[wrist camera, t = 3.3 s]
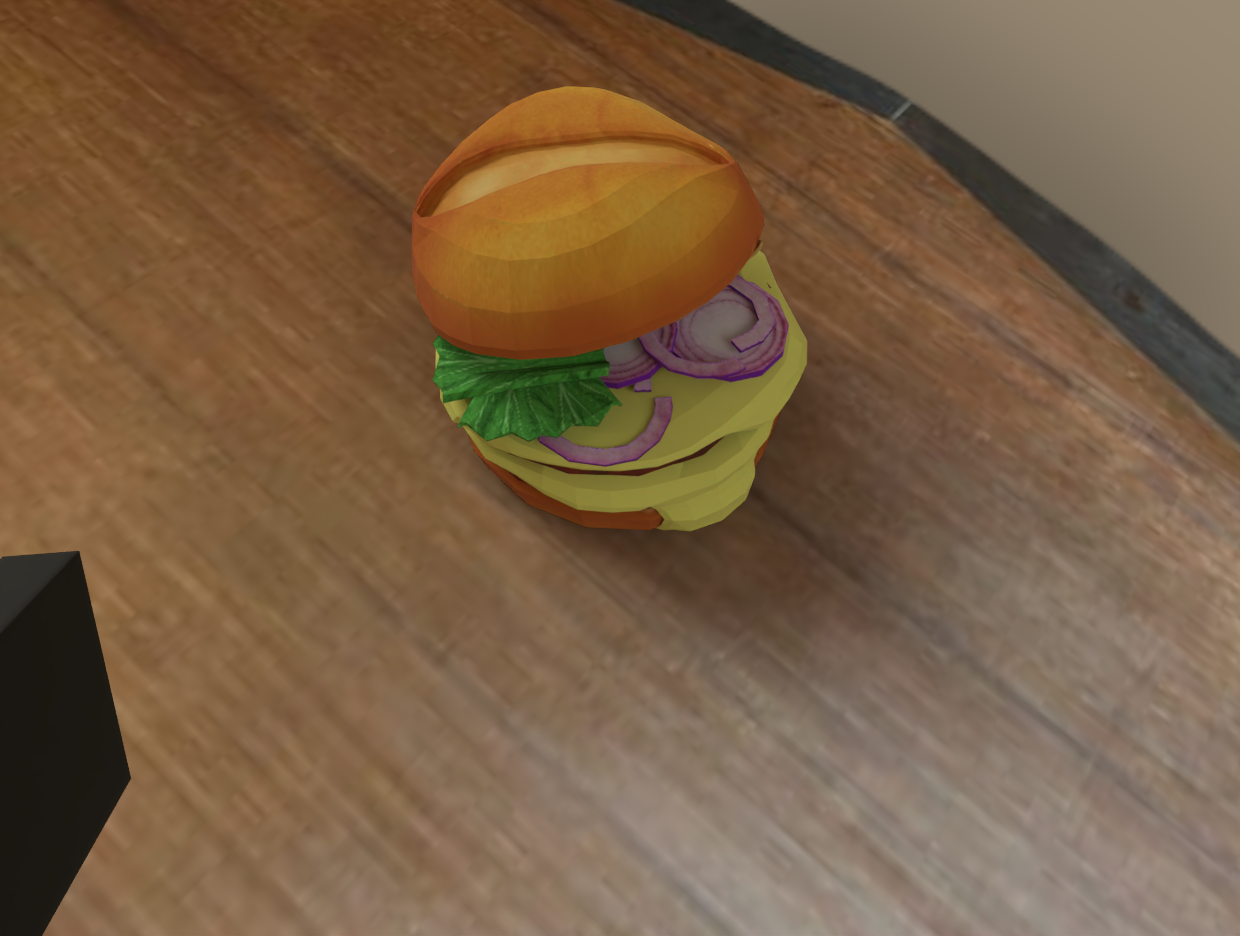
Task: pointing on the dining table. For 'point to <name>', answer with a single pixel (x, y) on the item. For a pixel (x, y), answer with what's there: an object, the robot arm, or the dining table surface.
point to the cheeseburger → (605, 311)
